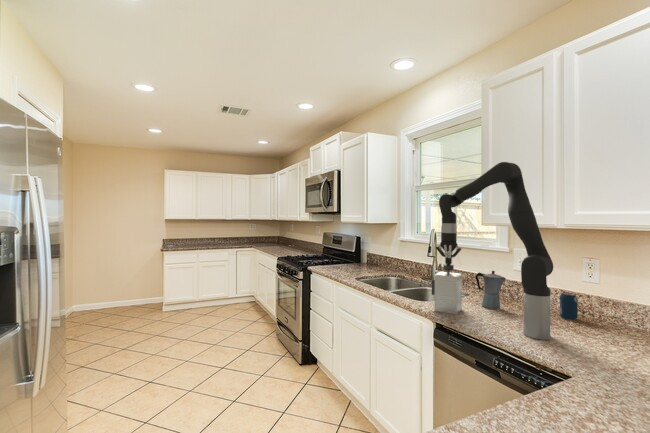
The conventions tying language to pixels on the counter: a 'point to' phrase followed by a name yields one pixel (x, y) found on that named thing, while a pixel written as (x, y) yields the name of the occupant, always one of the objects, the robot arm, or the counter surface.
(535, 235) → the robot arm
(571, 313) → the soda can
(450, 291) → the grey block
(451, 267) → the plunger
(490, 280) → the moka pot
